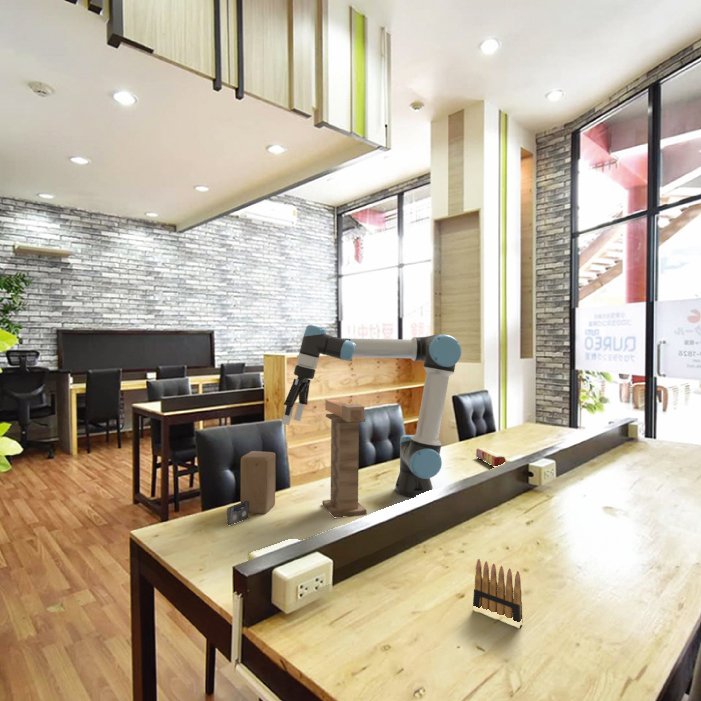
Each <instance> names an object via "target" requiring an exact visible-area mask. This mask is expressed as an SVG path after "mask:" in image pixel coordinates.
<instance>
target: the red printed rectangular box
mask: <svg viewBox="0 0 701 701" xmlns="http://www.w3.org/2000/svg"><path fill="white" fill-rule="evenodd" d="M475 452H476V453H475V455H476V458H477V457H478V458H480V459H482V460H484V461H486V462H487V463H489V464H491V465H492V466H498V465H501V464H503V463H504V462H506V461H507V459H506V457H505V456H504V455H501V454H499V453H497V452H494V451H492V450H490V449H487V448H486V447H477V449H476V451H475ZM506 463H507V462H506Z"/></svg>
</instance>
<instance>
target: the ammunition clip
mask: <svg viewBox="0 0 701 701" xmlns="http://www.w3.org/2000/svg"><path fill="white" fill-rule="evenodd" d="M489 568H490V567H489V564H488V561H487V560H486V561H485V562H484V565H483V571H482V562H481V560H480V558H478V559H477V561H476V564H475V575H474V589H473V600H472V603H473V604H472V607H473V606H476V607H478V608H480V607H481V606H482V608H483V609H486V610H487V609H489V610H490V611H491V612H497V614H499V615H504V614H505V616H506V617H507V618H512V617H513V620H514V621H517V622H520V621H521V619H522V620H523V602H522V586H521V584H522V583H521V582H522V581H521V575H520V571H519V570H517V571H516V574H515V576H514V587H513V573H512V570H511V568H508V570H507V573H506V582H505V571H504V567H503V566H502V565H501V566H500V567H499V571H498V577H497V568H496V564H495V563H493V564H492V565H491V570H489ZM482 572H483V574H482ZM497 579H498V580H497Z"/></svg>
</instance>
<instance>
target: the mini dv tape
mask: <svg viewBox="0 0 701 701" xmlns="http://www.w3.org/2000/svg"><path fill="white" fill-rule="evenodd" d="M249 514H250V512H249V501H244V502H241V501H240V502H239V503H236V504H234V505H231V506H228V507H227V508H226V525H227V524H228V525H231V524H234V523H236V524H238V523H237V522H239V521H241V522H243V521H246V520H248V519H249V517H250V516H249ZM247 518H248V519H247ZM245 519H246V520H245ZM242 520H243V521H242ZM239 523H240V522H239ZM228 525H227V526H228ZM234 525H235V524H234ZM231 526H232V525H231Z"/></svg>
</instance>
